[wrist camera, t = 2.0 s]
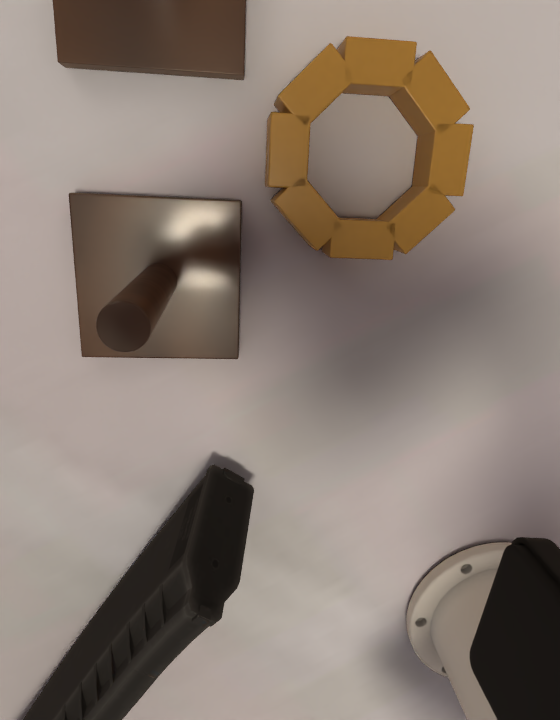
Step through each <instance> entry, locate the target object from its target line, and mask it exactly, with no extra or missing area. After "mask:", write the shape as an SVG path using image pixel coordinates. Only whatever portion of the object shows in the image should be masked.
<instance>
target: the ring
mask: <svg viewBox="0 0 560 720" xmlns="http://www.w3.org/2000/svg"><path fill="white" fill-rule="evenodd" d="M416 45H417V43H416V42H412V41H400V40H387V39H374V38H362V37H349V36H347V37H346V38H345V39H344V41H343V42H342V43H341V45H340V46H339V47H338V49H337V50H336V48H335V47H334V46H333V44H331V43H330V44H329V45H328V46H327V47H326V48H325V49H324V50H323V51H322V52H321V53H320V54H319V55H318V56H317V57H316V58H315V59H314V60H313V61H312V62H311V63H310V64H309V65H308V66H307V67H306V68H305V69H304V70H303V71H302V72H301V73H300V74H299V75H298V76H297V77H296V78H295V79H294V80H293V81H292V82H291V83H290V84H289V85H288V86H287V87H286V88H285V89H284V90H283V91H282V92H281V93H280V94H279V95H278V97H277V99H276V101H275V103H274V106H275V107H276V108H277V109H278V111H279V112H271V114H270V116H269V118H268V120H267V141H266V171H265V187H274V188H282V189H281V190H280V191H279V192H278V193H277V194H276V195H275V196H274V197H273V198H272V199H271V200H270V201H271V203H272V204H273V205H274V206H275V207H276V208H277V209H278V211H279V212H280V213H281V214H282V215H283V216H284V217H285V219H286V220H287V221H288V222H289V223H290V224H291V225H292V227H293V228H294V229H295V230H296V231H297V232H298V233H299V235H300V236H301V237H302V238H303V239H304V240H305V241H306V243H307V244H308V245H309V246H310V247H312V248H313V249H315V250H316V251H318V250H319V249H320V248H321V247H322V252H323V253H324V254H326V255H327V256H329V257H330V258H355V259H384V260H392V259H393V250H396V251H398V252H401V253H404V254H407V253H408V252H409V251H410V250H411V249H412V248H413V247H415V246H416V245H417V244H418V243H419V242H420V241H421V240H422V239H424V238H425V237H426V236H427V235H428V234H429V233H430V232H431V231H432V230H434V229H435V228H436V227H437V226H438V225H439V224H440V223H441V222H442V221H444V220H445V219H446V218H447V217H448V216H449V215H450V214H451V213H453V212H454V211H455V208H454V207H453V206H452V204H451V203H450V202H449V200H448V199H447V198H446V196H463V193H464V187H465V180H466V173H467V167H468V160H469V153H470V147H471V140H472V133H473V127H474V125H472V124H456V122H457V121H458V120H459V119H460V118H461V117H462V116H463V115H465V114H466V113H467V112H468V111H469V110H470V108H469V106H468V105H467V103H466V102H465V100H464V99H463V97H462V96H461V94H460V93H459V91H458V90H457V88H456V87H455V86H454V84H453V83H452V81H451V80H450V78H449V77H448V75H447V74H446V72H445V71H444V69H443V68H442V66H441V65H440V64H439V62H438V61H437V59H436V58H435V56H434V55H433V53H432V52H431V51H428V52H427V53H425V54H424V55H423V56H421V57H420V58H418V59H417V60H415V54H416ZM341 93H349V94H363V95H378V96H389V97H390V99H391V100H392V101H393V103H394V104H395V105H396V107H397V108H398V109H399V111H400V112H401V114H402V115H403V116H404V118H405V119H406V120H407V122H408V123H409V124H410V126H411V127H412V129H413V130H414V131H415V133H416V134H417V135H418V139H417V148H416V156H415V165H414V173H413V181H412V187H411V188H410V189H409V190H408V191H407V192H405V193H404V194H403V195H402V196H401V197H400V198H399V199H398V200H397V201H396V202H395V203H394V204H392V205H391V206H390V207H389V208H388V209H387V210H386V211H385V212H384V213H383V214H382V215H380V216H379V217H378V218H377V219H363V218H340V217H338V216H337V215H336V214H335V213H334V212H333V210H332V209H331V208H330V207H329V206H328V204H327V203H326V202H325V201H324V200H323V198H322V197H321V196H320V195H319V194H318V192H317V191H316V190H315V189H314V188H313V186H312V185H311V184H310V183H309V182H308V181H307V175H308V157H309V140H310V124H311V123H312V122H313V121H314V120H315V119H316V118H317V117H318V116H319V115H320V114H321V113H322V112H323V111H324V110H325V109H326V108H327V107H328V106H329V105H330V104H331V103H332V102H333V101H334V100H335V99H336V98H337V97H338V96H339V95H340V94H341Z"/></svg>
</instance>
